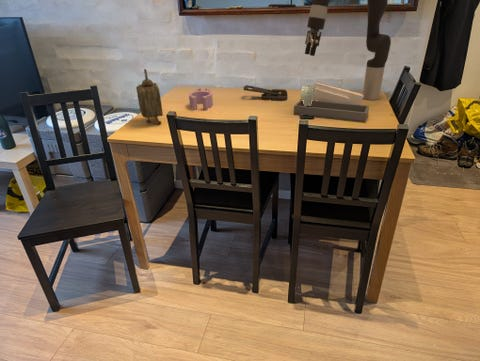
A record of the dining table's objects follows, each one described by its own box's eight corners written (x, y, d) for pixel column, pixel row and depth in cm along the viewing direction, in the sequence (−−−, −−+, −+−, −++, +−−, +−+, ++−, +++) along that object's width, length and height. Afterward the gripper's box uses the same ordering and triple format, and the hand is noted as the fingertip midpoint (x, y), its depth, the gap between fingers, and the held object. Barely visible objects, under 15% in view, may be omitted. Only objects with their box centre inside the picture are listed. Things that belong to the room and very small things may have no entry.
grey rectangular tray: (300, 107, 183) (300, 99, 181) (367, 114, 171) (369, 105, 169) (293, 114, 174) (294, 105, 172) (364, 122, 161) (366, 113, 159)
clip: (193, 100, 201) (192, 88, 198) (214, 99, 201) (214, 87, 198) (188, 111, 184) (186, 98, 180) (211, 110, 183) (210, 97, 180)
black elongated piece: (245, 84, 203) (288, 85, 198) (245, 95, 206) (287, 97, 201) (242, 88, 195) (287, 89, 191) (242, 100, 198) (286, 101, 194)
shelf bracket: (309, 104, 189) (316, 81, 182) (355, 116, 184) (363, 94, 177) (307, 107, 185) (314, 83, 178) (354, 120, 180) (363, 96, 173)
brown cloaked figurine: (164, 125, 165) (156, 71, 153) (145, 128, 163) (135, 73, 150) (159, 116, 177) (152, 65, 165) (141, 118, 174) (132, 67, 162)
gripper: (330, 18, 151) (321, 57, 157) (320, 18, 164) (312, 54, 170) (314, 15, 150) (305, 55, 156) (305, 16, 163) (297, 52, 169)
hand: (309, 54), depth 163 cm, fingers open, 8 cm apart
